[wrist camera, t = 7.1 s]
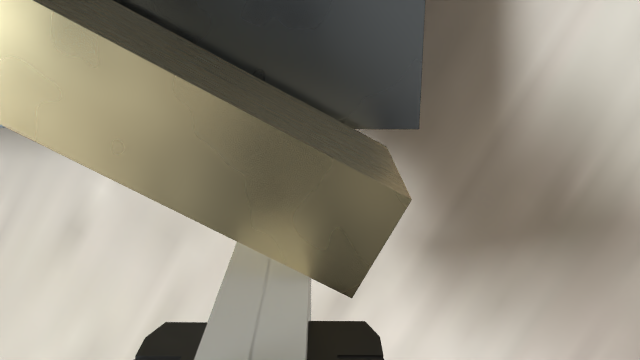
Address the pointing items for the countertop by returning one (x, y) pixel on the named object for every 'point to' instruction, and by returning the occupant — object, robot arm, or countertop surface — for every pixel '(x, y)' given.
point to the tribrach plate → (314, 50)
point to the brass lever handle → (198, 136)
